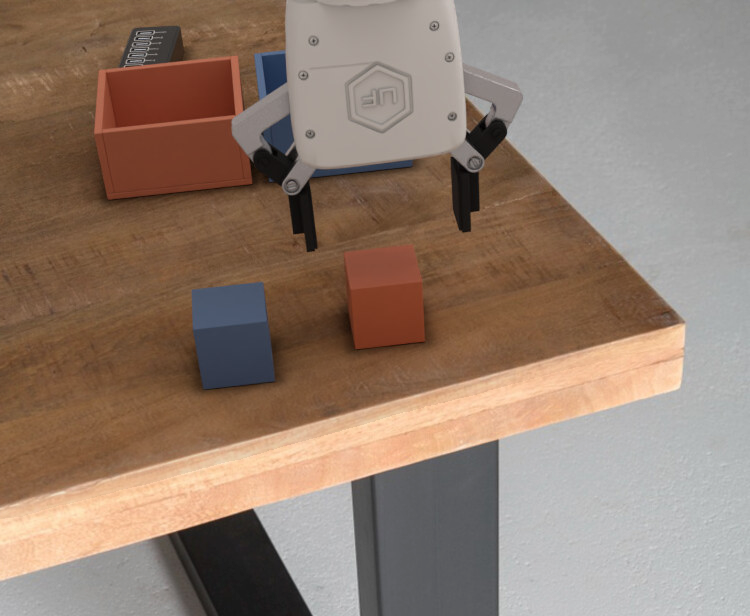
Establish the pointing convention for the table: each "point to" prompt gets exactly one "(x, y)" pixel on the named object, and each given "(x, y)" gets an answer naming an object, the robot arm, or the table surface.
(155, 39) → the multiport hub
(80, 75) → the table surface
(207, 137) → the terracotta bin
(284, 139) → the blue bin
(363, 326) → the terracotta block
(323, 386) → the table surface
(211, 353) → the blue block
